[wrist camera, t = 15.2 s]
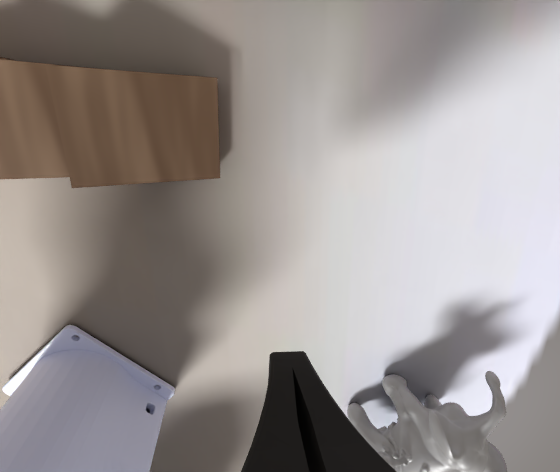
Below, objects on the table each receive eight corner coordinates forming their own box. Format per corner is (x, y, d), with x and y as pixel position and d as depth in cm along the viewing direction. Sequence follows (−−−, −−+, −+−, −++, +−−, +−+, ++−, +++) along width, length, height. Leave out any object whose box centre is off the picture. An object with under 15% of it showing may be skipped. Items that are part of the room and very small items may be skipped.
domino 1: (128, 71, 15) (-71, 52, 12) (139, 175, 17) (-31, 180, 14) (126, 72, 17) (-54, 56, 14) (137, 168, 19) (-19, 172, 16)
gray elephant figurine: (332, 420, 30) (358, 523, 23) (392, 323, 25) (448, 418, 18) (416, 431, 32) (463, 528, 25) (486, 344, 27) (569, 435, 20)
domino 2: (217, 77, 16) (45, 64, 13) (220, 178, 18) (72, 188, 15) (208, 78, 17) (49, 66, 14) (211, 171, 19) (74, 179, 16)
